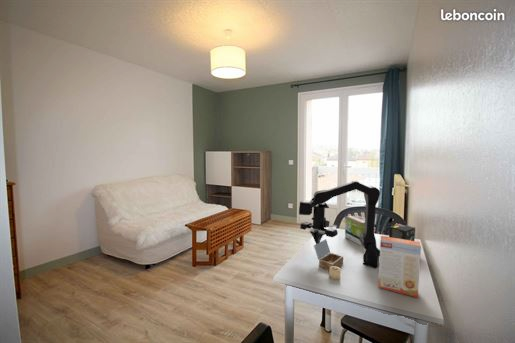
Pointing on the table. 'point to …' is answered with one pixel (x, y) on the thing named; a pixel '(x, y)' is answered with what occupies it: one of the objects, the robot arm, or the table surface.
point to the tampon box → (402, 232)
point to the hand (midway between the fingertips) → (317, 244)
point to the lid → (322, 249)
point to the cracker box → (399, 265)
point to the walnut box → (330, 261)
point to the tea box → (354, 228)
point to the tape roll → (334, 272)
